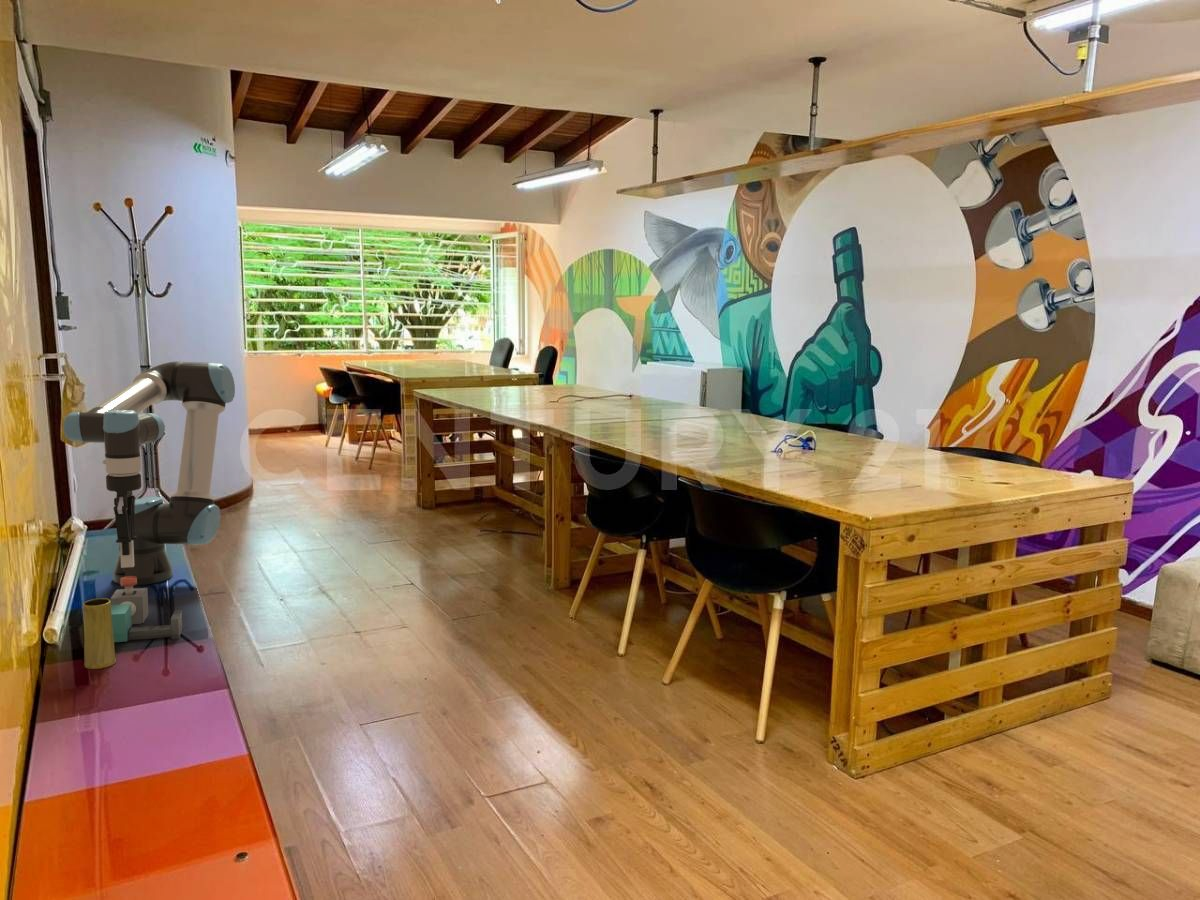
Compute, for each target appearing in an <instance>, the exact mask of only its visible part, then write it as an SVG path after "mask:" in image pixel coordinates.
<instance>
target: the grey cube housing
mask: <svg viewBox="0 0 1200 900" xmlns="http://www.w3.org/2000/svg"><path fill="white" fill-rule="evenodd" d="M110 601H111V605H119V604H131V614H132V625H138V624H139V625H140V624H141V623H145V622H146V620H147V618H148V616H149V594H148V587H138V588H137V587H135V588H133V595H125V588H123V589H122V588H121V589H116V590H115V591H114V592H113V594H112V595H111V597H110ZM145 619H146V620H145ZM144 621H145V622H144Z"/></svg>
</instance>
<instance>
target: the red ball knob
mask: <svg viewBox="0 0 1200 900" xmlns="http://www.w3.org/2000/svg"><path fill="white" fill-rule="evenodd" d="M120 582H121V584H120V587H124V589H125V595H133V589H134V586H137V585H136V584H137V577H136V576H126V577H122V578H120Z"/></svg>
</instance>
